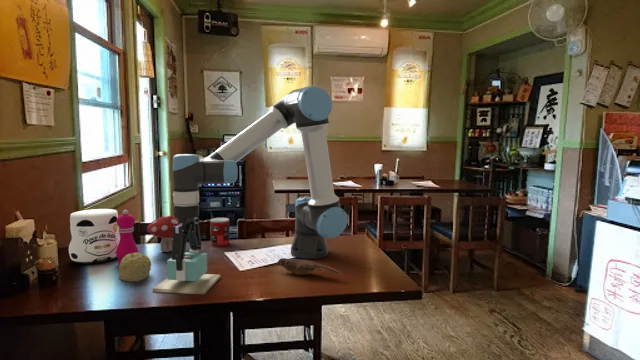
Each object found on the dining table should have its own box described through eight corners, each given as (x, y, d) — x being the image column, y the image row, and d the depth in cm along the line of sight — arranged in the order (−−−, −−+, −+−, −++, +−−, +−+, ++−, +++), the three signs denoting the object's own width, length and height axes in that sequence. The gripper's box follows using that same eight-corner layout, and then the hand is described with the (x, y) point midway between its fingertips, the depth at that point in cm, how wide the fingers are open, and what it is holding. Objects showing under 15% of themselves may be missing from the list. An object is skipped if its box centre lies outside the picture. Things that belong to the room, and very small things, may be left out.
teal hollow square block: (207, 271, 128) (206, 253, 128) (196, 281, 120) (195, 262, 119) (180, 269, 129) (180, 252, 129) (167, 279, 120) (167, 260, 120)
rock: (148, 281, 137) (139, 254, 139) (159, 272, 129) (149, 244, 131) (119, 291, 130) (110, 262, 132) (129, 282, 122) (119, 252, 124)
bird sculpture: (338, 283, 127) (339, 268, 127) (268, 274, 135) (268, 259, 135) (344, 276, 133) (344, 262, 133) (276, 268, 141) (276, 254, 141)
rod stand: (220, 277, 131) (220, 251, 130) (204, 294, 117) (203, 265, 116) (174, 275, 132) (173, 249, 131) (152, 291, 119) (151, 262, 118)
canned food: (209, 242, 173) (209, 218, 172) (227, 241, 176) (227, 217, 175) (212, 247, 166) (211, 221, 165) (231, 245, 169) (230, 220, 168)
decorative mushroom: (193, 246, 167) (192, 211, 166) (186, 257, 152) (185, 219, 150) (154, 247, 165) (153, 211, 164) (142, 258, 150) (141, 219, 148)
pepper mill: (142, 261, 147) (140, 208, 144) (131, 267, 140) (129, 212, 137) (124, 260, 147) (121, 207, 145) (112, 266, 140) (109, 211, 138)
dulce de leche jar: (100, 269, 138) (98, 218, 136) (57, 265, 141) (54, 216, 139) (132, 254, 155) (130, 209, 153) (93, 251, 158) (91, 207, 156)
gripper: (189, 198, 133) (190, 263, 136) (156, 210, 112) (159, 286, 114) (211, 199, 132) (211, 264, 135) (182, 211, 111) (184, 288, 113)
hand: (187, 274), depth 124 cm, fingers closed on teal hollow square block, 9 cm apart
